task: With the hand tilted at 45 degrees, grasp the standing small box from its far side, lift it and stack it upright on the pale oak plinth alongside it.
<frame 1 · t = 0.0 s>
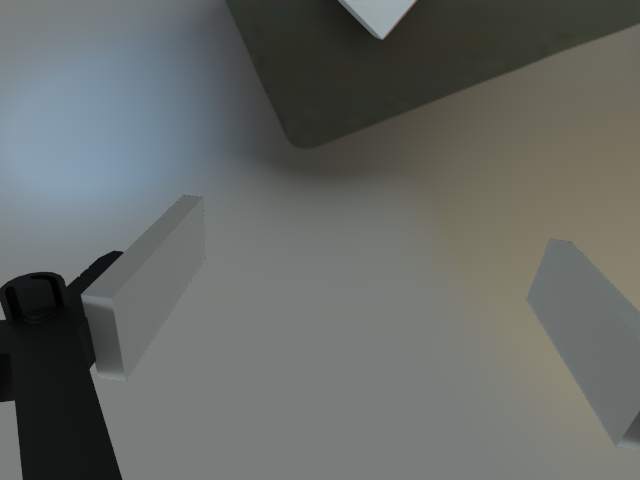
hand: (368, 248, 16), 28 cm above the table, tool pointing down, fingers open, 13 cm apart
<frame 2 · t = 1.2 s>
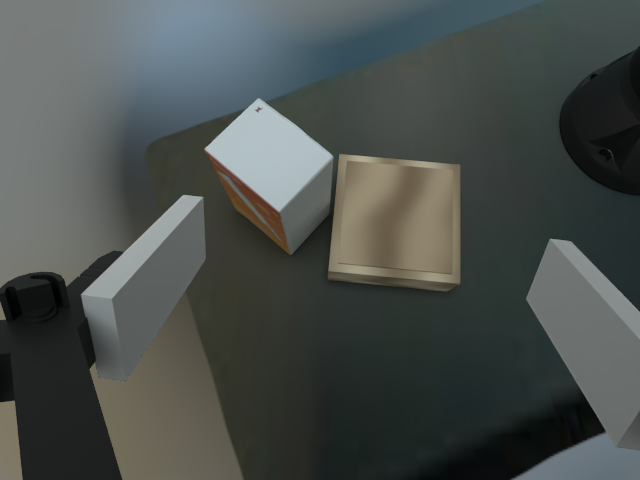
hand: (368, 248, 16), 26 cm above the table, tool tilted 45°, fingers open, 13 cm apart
oak plinth: (390, 229, 43), on the table
small box: (282, 213, 44), on the table
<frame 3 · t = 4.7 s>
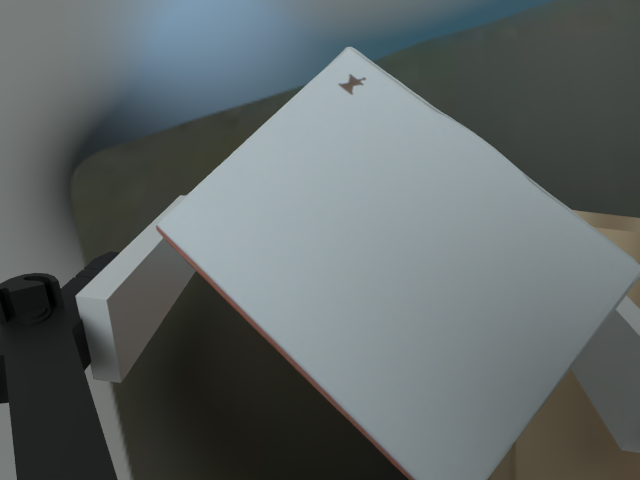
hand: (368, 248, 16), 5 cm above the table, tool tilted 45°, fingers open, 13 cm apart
oak plinth: (584, 362, 20), on the table
small box: (350, 315, 21), on the table
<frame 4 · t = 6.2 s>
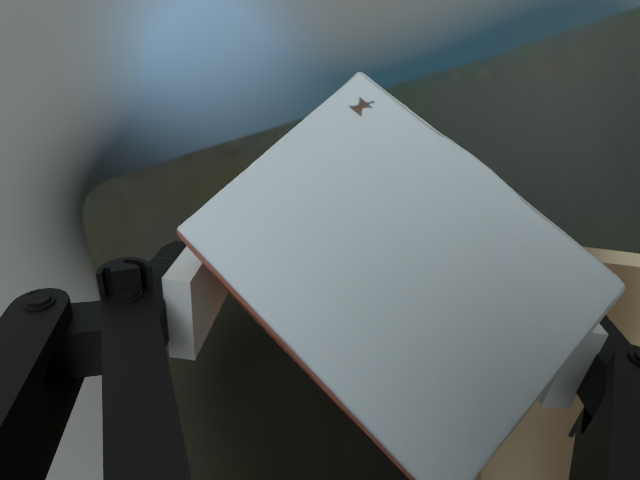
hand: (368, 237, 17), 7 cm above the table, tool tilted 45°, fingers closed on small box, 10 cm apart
oak plinth: (546, 372, 23), on the table
small box: (349, 326, 22), point 2 cm above the table, touching gripper
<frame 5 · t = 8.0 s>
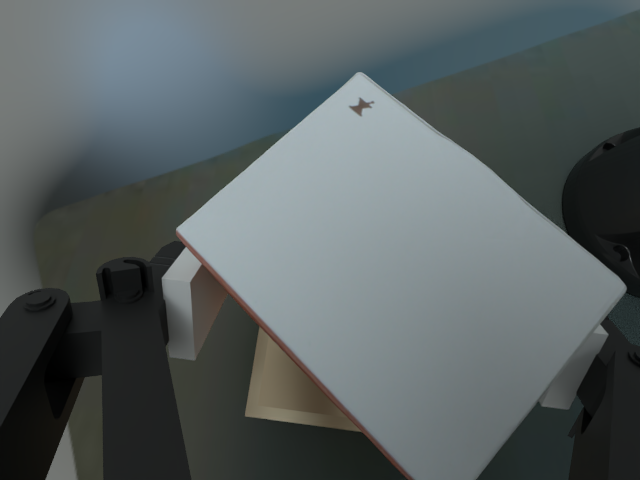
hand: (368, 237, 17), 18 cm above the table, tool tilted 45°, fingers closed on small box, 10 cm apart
oak plinth: (339, 341, 34), on the table
small box: (349, 327, 21), point 13 cm above the table, touching gripper
when the fingers open (10 cm above the table, at t = 9.9 s): small box stays where it is, resting on oak plinth.
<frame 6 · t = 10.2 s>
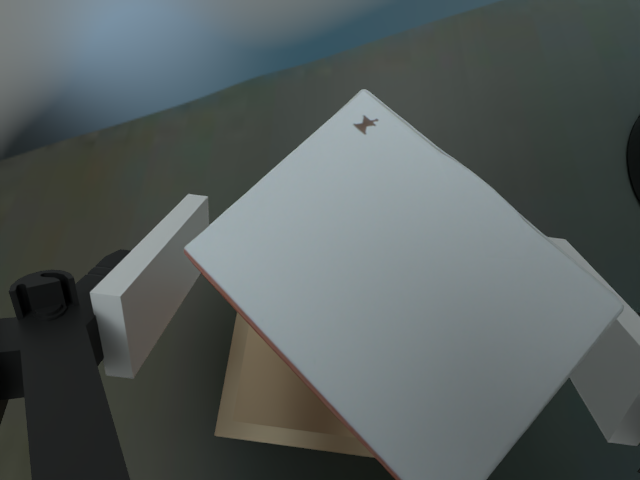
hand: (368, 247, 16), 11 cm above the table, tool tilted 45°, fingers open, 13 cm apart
oak plinth: (344, 333, 26), on the table
small box: (351, 328, 22), point 4 cm above the table, touching oak plinth
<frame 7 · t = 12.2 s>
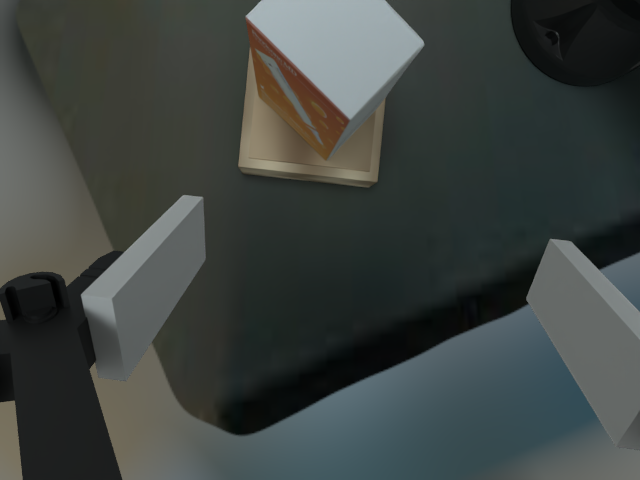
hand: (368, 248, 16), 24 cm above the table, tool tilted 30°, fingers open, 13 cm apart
oak plinth: (312, 118, 40), on the table
small box: (317, 105, 36), point 4 cm above the table, touching oak plinth
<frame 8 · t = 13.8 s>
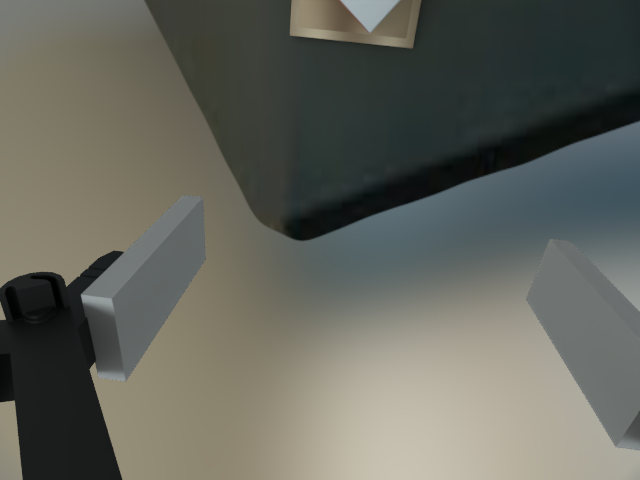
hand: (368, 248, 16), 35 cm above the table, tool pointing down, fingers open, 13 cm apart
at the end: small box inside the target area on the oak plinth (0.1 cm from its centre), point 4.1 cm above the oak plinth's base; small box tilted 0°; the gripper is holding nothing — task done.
